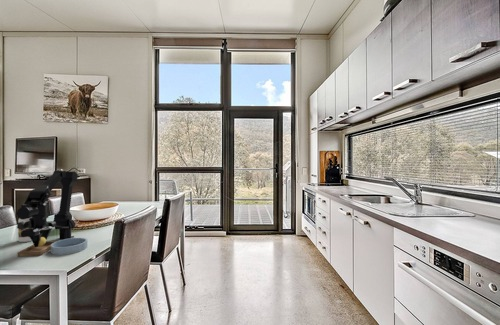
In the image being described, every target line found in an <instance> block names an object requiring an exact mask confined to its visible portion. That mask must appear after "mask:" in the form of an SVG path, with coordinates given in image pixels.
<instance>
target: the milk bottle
mask: <svg viewBox="0 0 500 325" xmlns="http://www.w3.org/2000/svg"><path fill="white" fill-rule="evenodd" d="M29 219H30V218H27V219H20V218H18V221H17V224H18V223H19V222H22V221H23V222H28V221H29ZM26 229H33V228H26ZM17 230H18V232H17V233H18V234H17V237H18V242H19V243H26V242H32V240H31V238H30V237H21V235H20V233H21V232H22V231H23V230H25V229H23V230H20V229H18V228H17Z"/></svg>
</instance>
